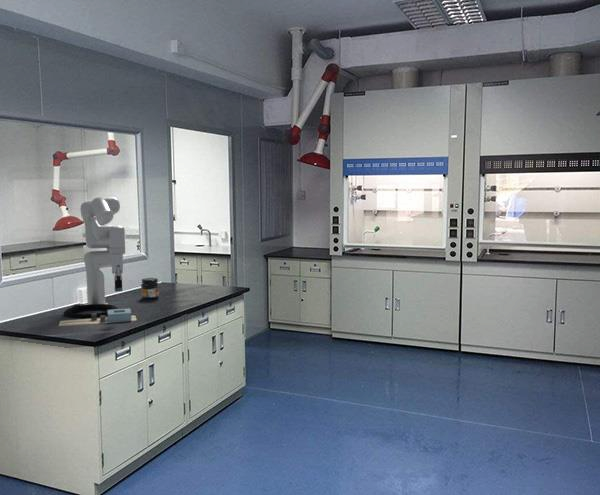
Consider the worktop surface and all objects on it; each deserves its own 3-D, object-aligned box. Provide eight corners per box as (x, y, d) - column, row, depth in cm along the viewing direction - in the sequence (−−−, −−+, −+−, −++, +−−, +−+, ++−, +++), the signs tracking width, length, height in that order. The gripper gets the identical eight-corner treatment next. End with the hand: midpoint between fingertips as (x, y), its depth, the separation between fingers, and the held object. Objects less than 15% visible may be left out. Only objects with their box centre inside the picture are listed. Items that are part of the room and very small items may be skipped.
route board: (60, 323, 276) (59, 315, 276) (135, 317, 288) (135, 310, 288) (58, 328, 265) (58, 320, 264) (136, 322, 277) (136, 315, 277)
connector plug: (114, 290, 279) (114, 274, 279) (122, 290, 281) (121, 274, 280) (115, 291, 276) (114, 275, 275) (122, 291, 277) (122, 275, 276)
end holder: (107, 317, 283) (107, 309, 283) (130, 315, 287) (130, 308, 287) (108, 322, 273) (108, 314, 272) (131, 320, 277) (131, 312, 276)
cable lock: (80, 317, 275) (50, 308, 294) (81, 324, 276) (50, 315, 294) (128, 307, 297) (97, 300, 315) (128, 314, 297) (98, 307, 316)
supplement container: (152, 300, 333) (152, 280, 331) (137, 299, 336) (137, 279, 335) (162, 297, 342) (162, 278, 341) (147, 296, 346) (147, 277, 345)
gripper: (109, 249, 283) (110, 285, 285) (109, 252, 267) (111, 290, 269) (124, 249, 285) (125, 284, 287) (126, 252, 270) (127, 289, 272)
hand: (118, 286), depth 278 cm, fingers closed on connector plug, 3 cm apart
